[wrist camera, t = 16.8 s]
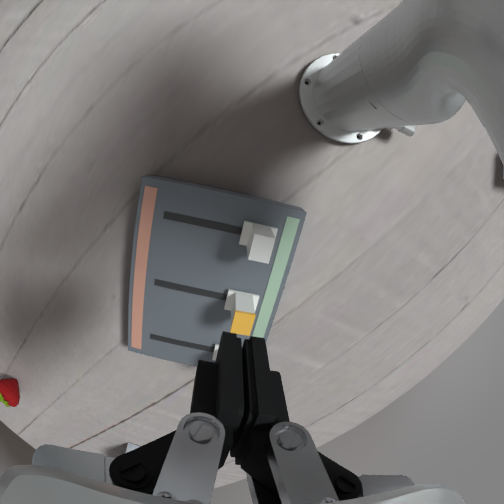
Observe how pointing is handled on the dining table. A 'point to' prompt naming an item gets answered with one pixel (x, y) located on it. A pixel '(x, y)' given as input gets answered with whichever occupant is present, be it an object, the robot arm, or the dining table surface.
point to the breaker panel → (201, 266)
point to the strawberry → (9, 392)
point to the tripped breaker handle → (241, 311)
